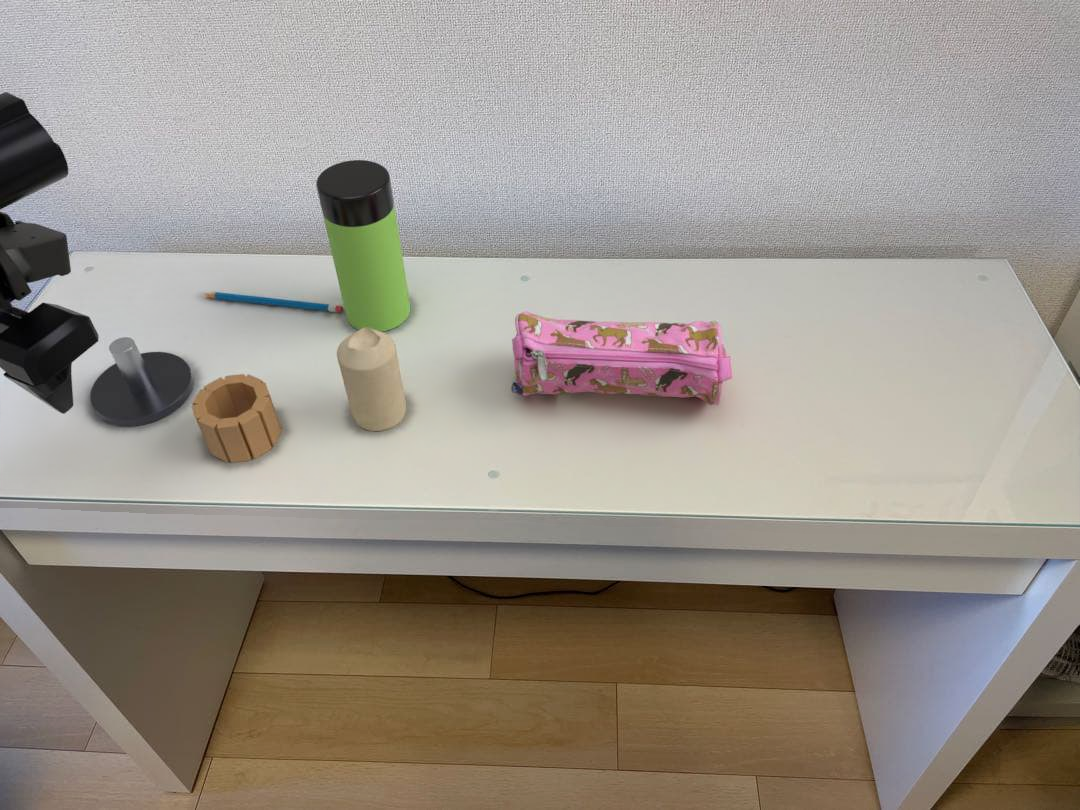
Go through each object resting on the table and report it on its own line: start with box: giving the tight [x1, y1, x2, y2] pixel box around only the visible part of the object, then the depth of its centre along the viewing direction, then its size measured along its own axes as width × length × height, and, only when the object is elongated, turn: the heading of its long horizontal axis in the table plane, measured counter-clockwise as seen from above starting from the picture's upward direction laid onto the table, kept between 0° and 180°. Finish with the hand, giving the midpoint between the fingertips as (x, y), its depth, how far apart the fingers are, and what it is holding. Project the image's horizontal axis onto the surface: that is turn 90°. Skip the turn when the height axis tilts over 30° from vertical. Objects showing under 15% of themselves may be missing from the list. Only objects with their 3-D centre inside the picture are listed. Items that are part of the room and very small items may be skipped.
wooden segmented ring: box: [191, 373, 283, 464], centre depth 83 cm, size 7×7×5 cm
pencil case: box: [510, 311, 733, 406], centre depth 85 cm, size 21×9×9 cm, turn 85°
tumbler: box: [315, 159, 411, 332], centre depth 91 cm, size 8×8×17 cm
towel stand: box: [89, 336, 195, 427], centre depth 87 cm, size 10×10×6 cm
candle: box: [336, 327, 407, 432], centre depth 83 cm, size 6×6×10 cm
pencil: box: [202, 291, 344, 314], centre depth 98 cm, size 1×17×1 cm, turn 80°
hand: (27, 392), depth 72 cm, fingers open, 9 cm apart
